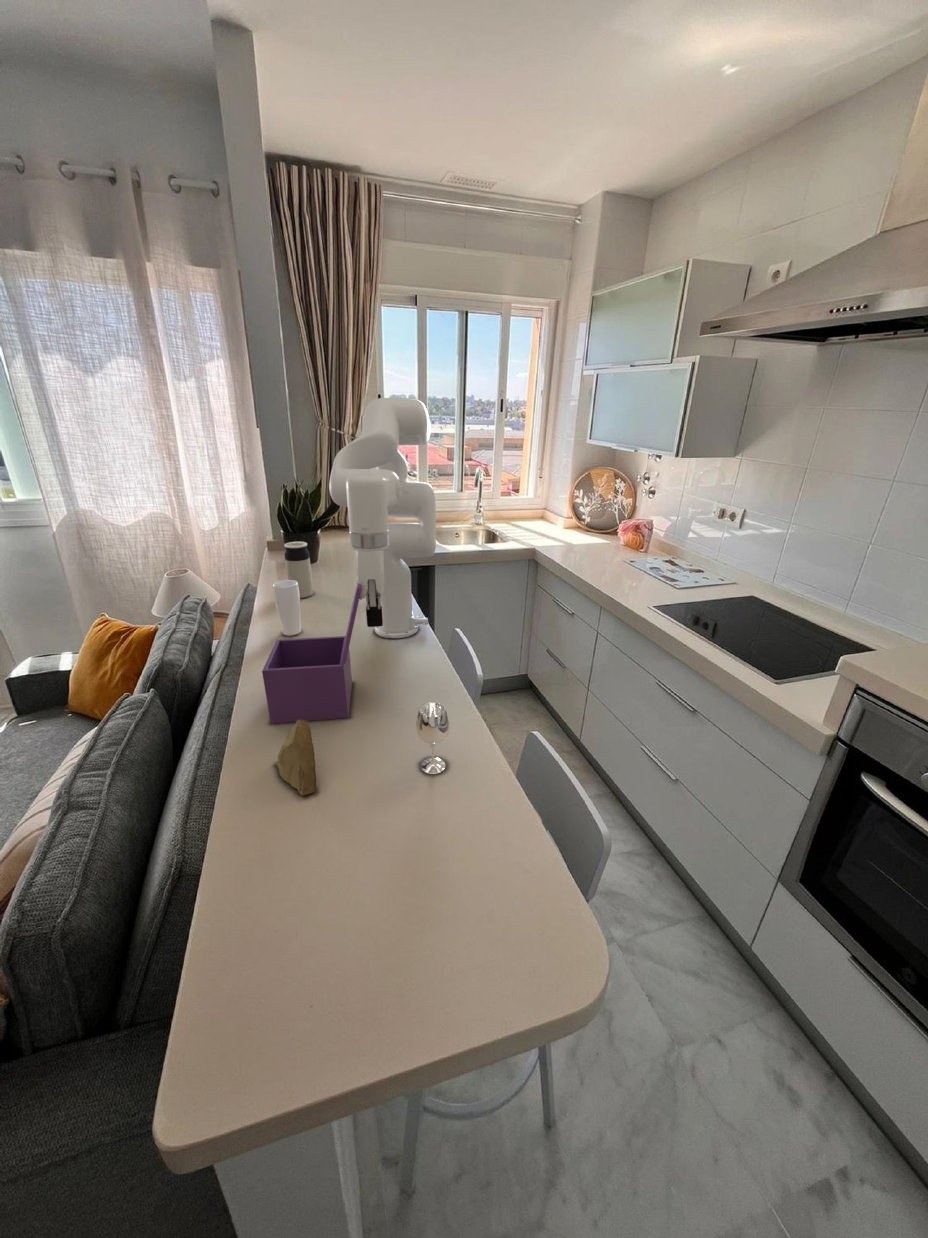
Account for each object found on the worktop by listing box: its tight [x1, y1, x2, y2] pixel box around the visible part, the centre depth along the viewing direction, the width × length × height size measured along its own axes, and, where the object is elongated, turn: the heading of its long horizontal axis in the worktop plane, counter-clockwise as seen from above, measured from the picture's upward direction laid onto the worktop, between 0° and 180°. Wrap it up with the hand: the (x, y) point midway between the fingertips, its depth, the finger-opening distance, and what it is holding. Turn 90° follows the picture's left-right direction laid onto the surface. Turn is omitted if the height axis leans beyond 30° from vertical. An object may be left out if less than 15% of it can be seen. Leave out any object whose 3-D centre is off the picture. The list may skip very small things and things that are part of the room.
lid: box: [341, 580, 362, 664], centre depth 103 cm, size 16×15×1 cm
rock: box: [275, 719, 317, 797], centre depth 85 cm, size 11×9×10 cm
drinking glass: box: [272, 579, 302, 637], centre depth 140 cm, size 7×7×15 cm
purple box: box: [261, 635, 353, 725], centre depth 107 cm, size 16×15×12 cm
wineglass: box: [415, 702, 450, 775], centre depth 87 cm, size 6×6×12 cm
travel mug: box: [283, 541, 314, 599], centre depth 169 cm, size 8×8×18 cm
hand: (375, 625), depth 104 cm, fingers closed
